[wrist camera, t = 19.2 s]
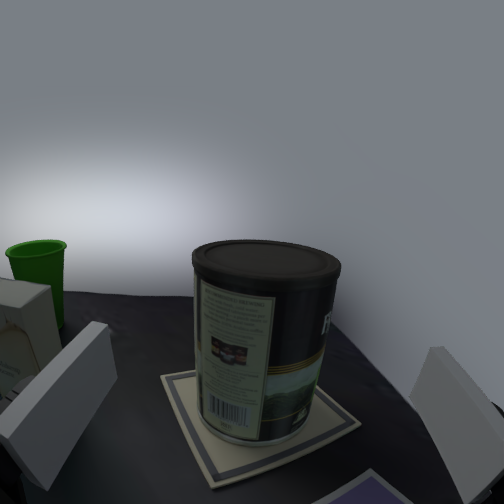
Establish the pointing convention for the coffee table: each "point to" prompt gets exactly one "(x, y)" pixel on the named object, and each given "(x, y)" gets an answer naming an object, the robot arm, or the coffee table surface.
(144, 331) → the coffee table surface
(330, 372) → the coffee table surface
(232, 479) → the cream square tile
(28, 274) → the cup
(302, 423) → the coffee can
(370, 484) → the ink pad
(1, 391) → the skincare box
